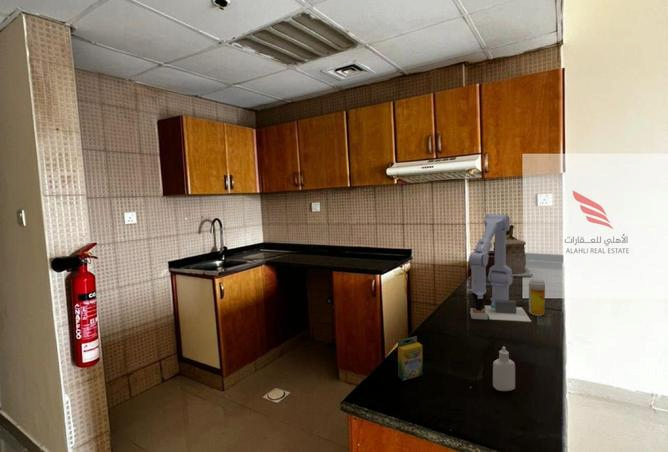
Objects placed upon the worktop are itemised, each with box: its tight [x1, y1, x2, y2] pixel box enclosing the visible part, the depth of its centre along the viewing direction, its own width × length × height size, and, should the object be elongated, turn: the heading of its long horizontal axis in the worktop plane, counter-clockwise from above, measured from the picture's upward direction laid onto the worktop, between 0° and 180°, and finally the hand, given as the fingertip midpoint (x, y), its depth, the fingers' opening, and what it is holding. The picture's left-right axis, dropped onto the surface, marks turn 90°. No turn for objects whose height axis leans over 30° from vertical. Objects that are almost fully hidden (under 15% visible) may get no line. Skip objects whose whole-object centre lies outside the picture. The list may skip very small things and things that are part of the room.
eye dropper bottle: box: [492, 346, 516, 392], centre depth 99 cm, size 4×6×12 cm
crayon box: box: [397, 335, 424, 381], centre depth 108 cm, size 7×3×12 cm, turn 114°
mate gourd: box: [473, 248, 495, 286], centre depth 209 cm, size 16×14×20 cm
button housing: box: [470, 307, 489, 320], centre depth 155 cm, size 6×6×2 cm
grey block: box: [490, 299, 517, 314], centre depth 159 cm, size 4×10×5 cm, turn 73°
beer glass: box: [528, 278, 546, 317], centre depth 155 cm, size 6×6×15 cm
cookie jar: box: [492, 224, 533, 278], centre depth 229 cm, size 25×25×32 cm
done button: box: [474, 308, 484, 313], centre depth 155 cm, size 4×4×2 cm
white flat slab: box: [484, 305, 532, 323], centre depth 158 cm, size 18×16×1 cm
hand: (478, 310), depth 155 cm, fingers closed, pressing on done button
